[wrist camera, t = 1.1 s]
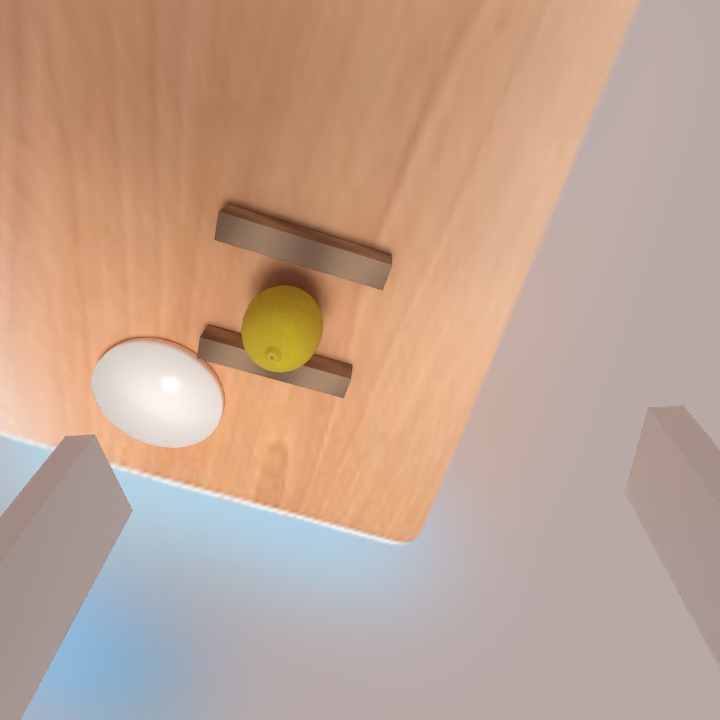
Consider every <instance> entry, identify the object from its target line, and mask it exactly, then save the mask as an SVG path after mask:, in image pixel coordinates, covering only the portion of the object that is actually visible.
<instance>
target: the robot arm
mask: <svg viewBox="0 0 720 720" xmlns="http://www.w3.org/2000/svg"><path fill="white" fill-rule="evenodd" d="M625 494H626V496H627V498H628V500H629V502H630V503H631V505H632V507H633V509H634V511H635V513H636V514H637V516H638V518H639V520H640V522H641V524H642V526H643V528H644V529H645V531H646V533H647V535H648V537H649V539H650V541H651V542H652V544H653V546H654V548H655V550H656V552H657V554H658V556H659V557H660V559H661V561H662V563H663V565H664V567H665V569H666V570H667V572H668V574H669V576H670V578H671V580H672V581H673V583H674V585H675V587H676V589H677V591H678V593H679V595H680V596H681V598H682V600H683V602H684V604H685V606H686V608H687V610H688V611H689V613H690V615H691V617H692V619H693V621H694V622H695V624H696V626H697V628H698V630H699V632H700V634H701V635H702V637H703V639H704V641H705V643H706V645H707V647H708V649H709V650H710V652H711V654H712V656H713V658H714V660H715V662H716V664H717V665H718V667H719V669H720V449H719V448H718V447H717V446H716V444H715V443H714V442H713V441H712V439H711V438H710V437H709V436H708V435H707V433H706V432H705V431H704V430H703V429H702V427H701V426H700V425H699V424H698V423H697V421H696V420H695V419H694V418H693V417H692V415H691V414H690V413H689V412H688V411H687V409H686V408H685V407H684V406H668V407H648V409H647V413H646V416H645V420H644V424H643V428H642V431H641V435H640V439H639V442H638V446H637V450H636V453H635V457H634V461H633V465H632V468H631V472H630V476H629V479H628V483H627V487H626V490H625ZM131 512H132V508H131V506H130V504H129V502H128V500H127V498H126V496H125V494H124V492H123V491H122V488H121V487H120V484H119V482H118V480H117V478H116V477H115V474H114V472H113V470H112V468H111V466H110V464H109V462H108V460H107V458H106V456H105V454H104V452H103V450H102V448H101V446H100V444H99V442H98V440H97V438H96V436H95V435H81V436H65V438H64V439H63V440H62V441H61V443H60V444H59V445H58V446H57V448H56V449H55V450H54V451H53V452H52V454H51V455H50V456H49V458H48V459H47V460H46V461H45V462H44V464H43V465H42V466H41V467H40V469H39V470H38V471H37V473H36V474H35V475H34V476H33V477H32V479H31V480H30V481H29V482H28V484H27V485H26V486H25V487H24V488H23V490H22V491H21V492H20V493H19V495H18V496H17V497H16V499H15V500H14V501H13V502H12V503H11V505H10V506H9V507H8V508H7V510H6V511H5V512H4V513H3V514H2V516H1V517H0V720H21V718H22V716H23V714H24V712H25V710H26V709H27V707H28V705H29V703H30V701H31V699H32V697H33V695H34V694H35V692H36V690H37V688H38V686H39V684H40V682H41V681H42V679H43V677H44V675H45V673H46V671H47V669H48V668H49V666H50V664H51V662H52V660H53V658H54V656H55V654H56V653H57V651H58V649H59V647H60V645H61V643H62V641H63V640H64V638H65V636H66V634H67V632H68V630H69V628H70V626H71V624H72V623H73V621H74V619H75V617H76V615H77V613H78V611H79V610H80V608H81V606H82V604H83V602H84V600H85V598H86V597H87V595H88V593H89V591H90V589H91V587H92V585H93V584H94V582H95V580H96V578H97V576H98V574H99V572H100V570H101V569H102V567H103V565H104V563H105V561H106V559H107V557H108V555H109V554H110V552H111V550H112V548H113V546H114V544H115V542H116V540H117V539H118V537H119V535H120V533H121V531H122V529H123V527H124V526H125V524H126V522H127V520H128V518H129V516H130V514H131Z"/></svg>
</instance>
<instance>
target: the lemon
mask: <svg viewBox="0 0 720 720" xmlns="http://www.w3.org/2000/svg"><path fill="white" fill-rule="evenodd" d="M322 331H323V320H322V315H321V311H320V309H319V307H318V305H317V303H316V301H315V300H314V299H313V298H312V297H311V296H310V295H309V294H308V293H307V292H305V291H304V290H302V289H300V288H297V287H295V286H289V285H278V286H274V287H271V288H268V289H266V290H264V291H263V292H261V293H260V294H258V295H257V296H256V297H255V299H254V300H253V301H252V302H251V303H250V304H249V306H248V308H247V310H246V313H245V315H244V318H243V323H242V340H243V345H244V348H245V350H246V352H247V354H248V355H249V357H250V358H251V359H252V360H253V362H255V363H256V364H257V365H258V366H260V367H262V368H264V369H266V370H269V371H272V372H288V371H292V370H295V369H297V368H299V367H301V366H302V365H303V364H305V363H306V362H307V361H308V360H309V359H310V358H311V357H312V355H313V354H314V353H315V351H316V350H317V348H318V346H319V343H320V340H321V338H322Z"/></svg>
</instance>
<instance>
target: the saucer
mask: <svg viewBox="0 0 720 720" xmlns="http://www.w3.org/2000/svg"><path fill="white" fill-rule="evenodd" d="M92 390H93V395H94V398H95V400H96V403H97V404H98V406H99V408H100V410H101V411H102V412H103V414H104V415H105V416H106V417H107V418H108V420H109V421H110V422H111V423H112V424H114V425H115V426H116V427H117V428H118V429H120V430H121V431H122V432H124V433H126V434H127V435H129V436H131V437H133V438H135V439H137V440H139V441H142V442H145V443H148V444H151V445H156V446H161V447H184V446H189V445H192V444H195V443H198V442H200V441H202V440H204V439H205V438H206V437H208V436H209V435H210V434H211V433H212V432H213V431H214V430H215V428H216V427H217V425H218V423H219V421H220V418H221V416H222V414H223V410H224V404H225V398H224V392H223V388H222V385H221V383H220V381H219V379H218V377H217V375H216V374H215V372H214V371H213V369H212V368H211V367H210V366H209V365H208V364H207V363H206V362H205V361H204V360H201V359H197V354H195V353H194V352H192V351H191V350H189V349H187V348H185V347H183V346H181V345H179V344H177V343H174V342H171V341H168V340H163V339H159V338H150V337H142V338H133V339H129V340H125V341H123V342H121V343H118V344H117V345H115V346H113V347H112V348H111V349H110V350H109V351H107V352H106V354H105V355H104V356H103V357H102V358H101V359H100V360H99V362H98V363H97V365H96V367H95V369H94V372H93V375H92Z"/></svg>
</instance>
